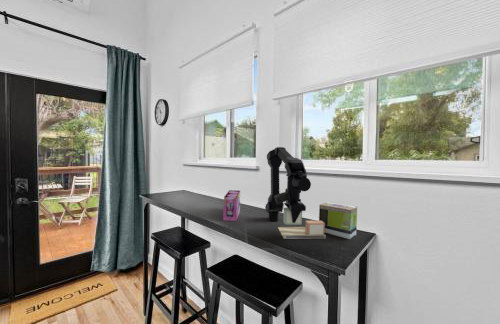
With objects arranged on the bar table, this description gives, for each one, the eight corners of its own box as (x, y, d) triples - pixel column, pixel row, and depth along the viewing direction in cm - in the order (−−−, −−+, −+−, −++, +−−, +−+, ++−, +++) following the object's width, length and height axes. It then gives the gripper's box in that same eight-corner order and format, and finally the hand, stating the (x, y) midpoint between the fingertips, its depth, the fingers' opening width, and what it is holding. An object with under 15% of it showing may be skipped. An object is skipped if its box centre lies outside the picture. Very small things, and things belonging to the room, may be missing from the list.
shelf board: (277, 229, 113) (277, 224, 113) (313, 229, 114) (314, 224, 114) (283, 242, 98) (284, 235, 97) (325, 241, 99) (326, 235, 99)
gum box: (236, 222, 124) (236, 198, 123) (222, 221, 124) (222, 197, 124) (240, 210, 148) (240, 190, 147) (228, 210, 148) (228, 190, 148)
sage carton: (283, 221, 103) (283, 207, 102) (299, 221, 103) (299, 207, 103) (285, 224, 99) (285, 210, 98) (301, 224, 99) (302, 210, 99)
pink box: (305, 234, 104) (305, 220, 103) (320, 234, 104) (321, 220, 104) (307, 237, 100) (308, 223, 99) (324, 237, 100) (324, 223, 100)
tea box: (356, 236, 106) (358, 206, 106) (349, 242, 99) (351, 210, 98) (326, 228, 116) (327, 200, 116) (317, 233, 109) (318, 204, 108)
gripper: (272, 183, 109) (271, 215, 110) (280, 190, 90) (278, 228, 91) (294, 184, 110) (293, 215, 110) (306, 191, 91) (305, 228, 92)
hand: (292, 221), depth 101 cm, fingers closed on sage carton, 4 cm apart
